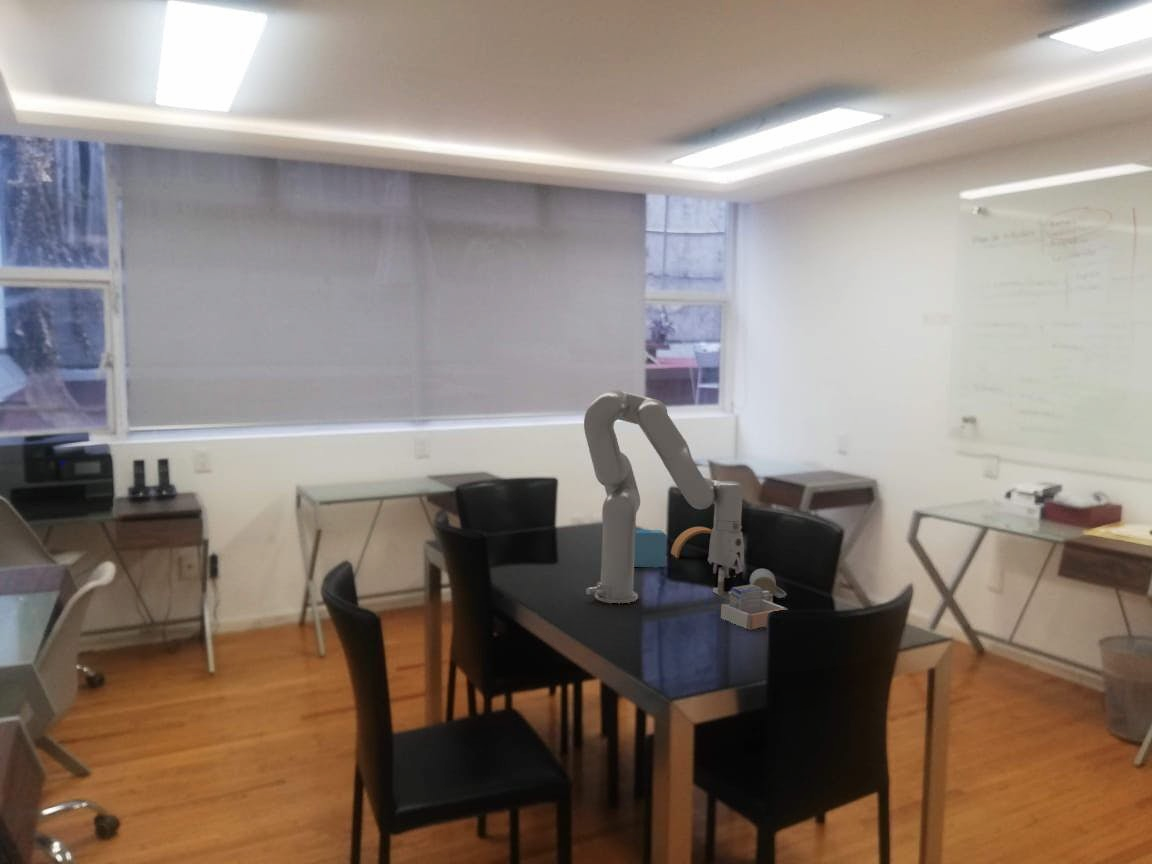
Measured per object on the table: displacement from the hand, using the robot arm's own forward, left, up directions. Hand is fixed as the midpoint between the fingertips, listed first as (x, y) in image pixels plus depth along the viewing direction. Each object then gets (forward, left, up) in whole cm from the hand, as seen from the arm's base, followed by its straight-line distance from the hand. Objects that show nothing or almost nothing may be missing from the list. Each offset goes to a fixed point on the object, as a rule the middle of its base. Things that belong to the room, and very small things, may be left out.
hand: (723, 588), depth 248 cm
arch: (+35, +50, -6) cm, 61 cm away
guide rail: (+9, +3, -6) cm, 11 cm away
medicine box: (-1, -10, -6) cm, 11 cm away
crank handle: (+3, -4, -5) cm, 7 cm away
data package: (+8, +46, -6) cm, 47 cm away
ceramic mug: (+20, +3, -6) cm, 21 cm away
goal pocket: (0, -12, -6) cm, 13 cm away
